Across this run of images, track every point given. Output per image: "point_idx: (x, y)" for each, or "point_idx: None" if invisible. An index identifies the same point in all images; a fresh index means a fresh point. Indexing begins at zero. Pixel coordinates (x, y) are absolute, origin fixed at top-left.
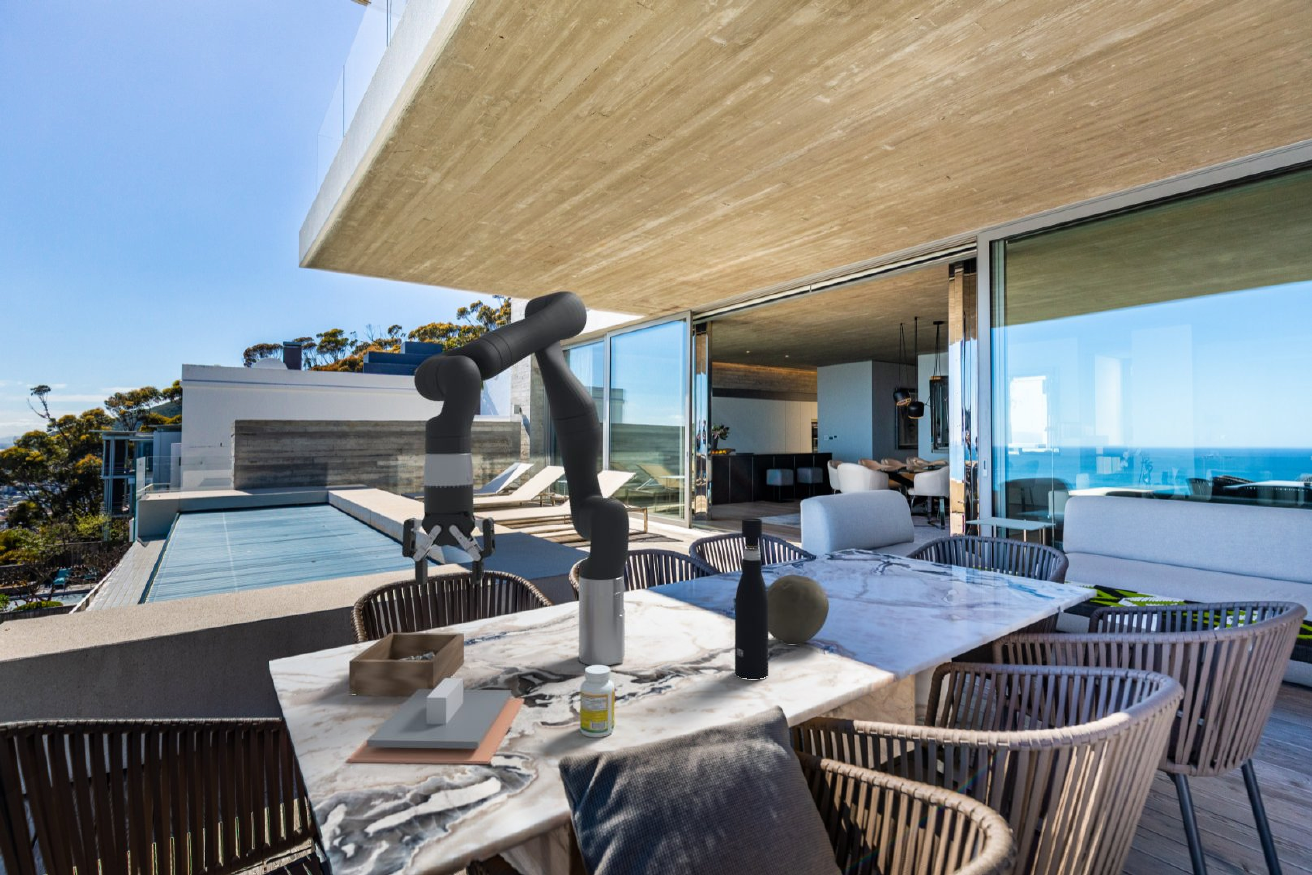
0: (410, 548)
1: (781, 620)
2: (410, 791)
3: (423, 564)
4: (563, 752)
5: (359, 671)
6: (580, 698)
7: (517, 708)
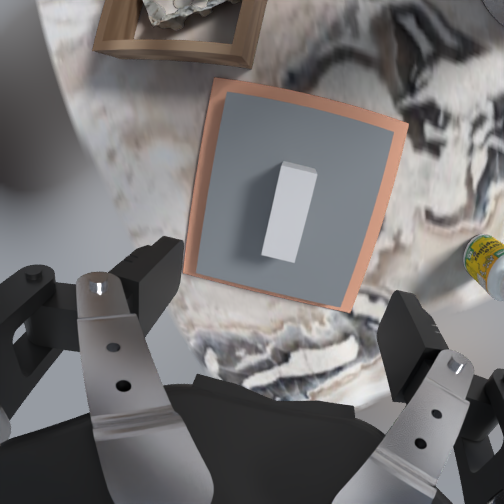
0: (47, 361)
1: None
2: (269, 344)
3: (145, 327)
4: (432, 300)
5: (116, 52)
6: (482, 272)
7: (397, 161)
